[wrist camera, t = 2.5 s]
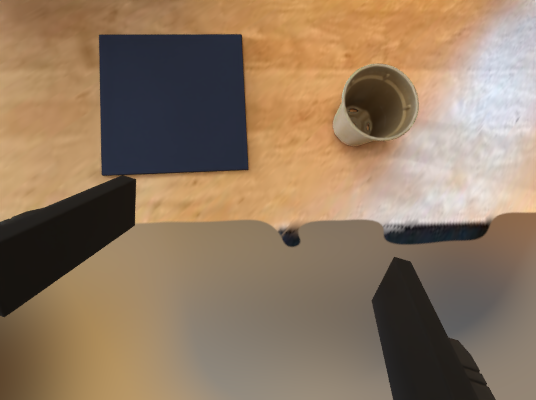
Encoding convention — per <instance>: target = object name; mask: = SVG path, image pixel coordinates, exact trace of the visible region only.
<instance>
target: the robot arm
mask: <svg viewBox="0 0 536 400" xmlns="http://www.w3.org/2000/svg"><path fill="white" fill-rule="evenodd" d="M135 200H136V179H133V178H130V177H127V176H123V175H122V176H119V177H117V178H114V179H112V180H110V181H107V182H105V183H102V184H100V185H98V186H95V187H93V188H90V189H88V190H86V191H83V192H81V193H78V194H76V195H73V196H71V197H69V198H66V199H64V200H61V201H59V202H57V203H54V204H52V205H49V206H47V207H45V208H41V209H36V210H32V211H27V212H24V213H22V214H19V215H17V216H14V217H12V218H11V219H7V220H4V221H2V222H0V316H2V317H5V316H7V315H8V314H10V313H11V312H13V311H14V310H15V309H17V308H18V307H20V306H21V305H23V304H24V303H25V302H27V301H28V300H30V299H31V298H33V297H34V296H35V295H37V294H38V293H40V292H41V291H42V290H44V289H45V288H47V287H48V286H50V285H51V284H52V283H54V282H55V281H57V280H58V279H59V278H61V277H62V276H63V275H65V274H67V273H68V272H69V271H71V270H72V269H74V268H75V267H77V266H78V265H79V264H81V263H82V262H84V261H85V260H86V259H88V258H89V257H91V256H92V255H94V254H95V253H96V252H98V251H99V250H101V249H102V248H103V247H105V246H106V245H108V244H109V243H110V242H112V241H113V240H115V239H116V238H118V237H119V236H120V235H122V234H123V233H125V232H126V231H128V230H129V229H130V228H132V227H133V226H134V225H135ZM372 304H373V309H374V313H375V318H376V322H377V327H378V332H379V336H380V341H381V345H382V350H383V355H384V359H385V364H386V368H387V373H388V377H389V382H390V387H391V391H392V396H393V400H495V398H494V396H493V394H492V392H491V390H490V389H489V387H487V386H486V384H487V383H486V381H485V379H484V378H483V376H482V374H480V373H479V371H480V370H479V368H478V367H477V365H476V363H475V361H474V360H473V358H472V356H471V355H470V353H469V352H468V351H467V350H466V349H465V348H464V347H463V345H461V343H460V342H459V341H458V340H455V339H451V338H448V336H447V334H446V332H445V330H444V328H443V326H442V324H441V322H440V320H439V318H438V316H437V314H436V312H435V310H434V308H433V306H432V304H431V302H430V300H429V298H428V296H427V294H426V292H425V290H424V288H423V286H422V284H421V282H420V280H419V278H418V276H417V274H416V272H415V270H414V268H413V265H412V263H411V262H410V261H406V260H403V259H399V258H396V257H394V258H393V260H392V262H391V264H390V266H389V268H388V270H387V272H386V274H385V276H384V278H383V280H382V282H381V283H380V285H379V287H378V290H377V291H376V293H375V295H374V297H373V299H372Z"/></svg>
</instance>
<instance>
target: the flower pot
mask: <svg viewBox="0 0 536 400" xmlns="http://www.w3.org/2000/svg"><path fill="white" fill-rule="evenodd" d="M350 109H356V110H357V112H350V111H349V110H350ZM418 110H419V102H418V96H417V92H416V90H415V87H414V85H413V84H412V82H411V81H410V79H409V78H408V77H407V76H406V75H405V74H404V73H403V72H401V71H400V70H398V69H397V68H395V67H393V66H390V65H386V64H370V65H367V66H364V67H362V68H360V69H358V70H357V71H355V72H354V73H353V74H352V75H351V76H350V78H349V79H348V81H347V82H346V84H345V87H344V89H343V93H342V103H341V105H340V107H339V109H338V111H337V113H336V115H335V117H334V120H333V129H334V133H335V135H336V136H337V137H338V138H339V139H340V140H341V141H342V142H343V143H344V144H346V145H349V146H359V145H362V144H365V143H368V142H371V141H374V140H375V141H389V140H393V139H396V138H398V137H400V136H402V135H404V134H405V133H406V132H407V131H408V130H409V129H410V128H411V127H412V125H413V124H414V122H415V120H416V118H417V114H418ZM368 123H369V130H367V124H368ZM354 124H355V125H354Z"/></svg>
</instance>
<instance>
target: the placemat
mask: <svg viewBox="0 0 536 400" xmlns="http://www.w3.org/2000/svg"><path fill="white" fill-rule="evenodd" d="M99 52H100V106H101V160H102V175H103V176H109V175H134V174H158V173H183V172H207V171H231V170H248V153H247V133H246V114H245V94H244V74H243V55H242V35H241V34H203V35H99Z"/></svg>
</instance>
